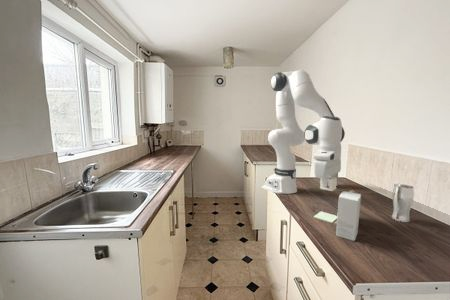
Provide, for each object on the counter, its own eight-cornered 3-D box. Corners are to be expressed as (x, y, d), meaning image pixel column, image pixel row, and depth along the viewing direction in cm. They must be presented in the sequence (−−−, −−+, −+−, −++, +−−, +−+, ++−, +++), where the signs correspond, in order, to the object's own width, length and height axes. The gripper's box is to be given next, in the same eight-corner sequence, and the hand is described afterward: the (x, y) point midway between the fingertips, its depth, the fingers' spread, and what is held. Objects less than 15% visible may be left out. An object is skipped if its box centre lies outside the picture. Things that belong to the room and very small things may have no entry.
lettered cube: (319, 188, 94) (320, 177, 93) (324, 186, 97) (325, 175, 97) (331, 191, 90) (332, 179, 90) (336, 188, 94) (336, 177, 93)
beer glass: (403, 223, 89) (406, 189, 87) (386, 216, 96) (389, 184, 94) (415, 221, 91) (418, 187, 89) (398, 215, 97) (401, 183, 96)
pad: (313, 217, 96) (313, 216, 96) (320, 212, 101) (320, 211, 101) (332, 223, 90) (332, 222, 90) (338, 217, 96) (338, 216, 96)
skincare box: (340, 227, 86) (342, 190, 84) (359, 232, 82) (362, 193, 80) (335, 236, 80) (337, 196, 78) (355, 242, 76) (358, 199, 74)
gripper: (330, 151, 102) (329, 179, 103) (311, 155, 88) (310, 188, 89) (345, 152, 97) (344, 181, 99) (327, 157, 83) (326, 191, 85)
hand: (328, 184), depth 94 cm, fingers closed on lettered cube, 5 cm apart
